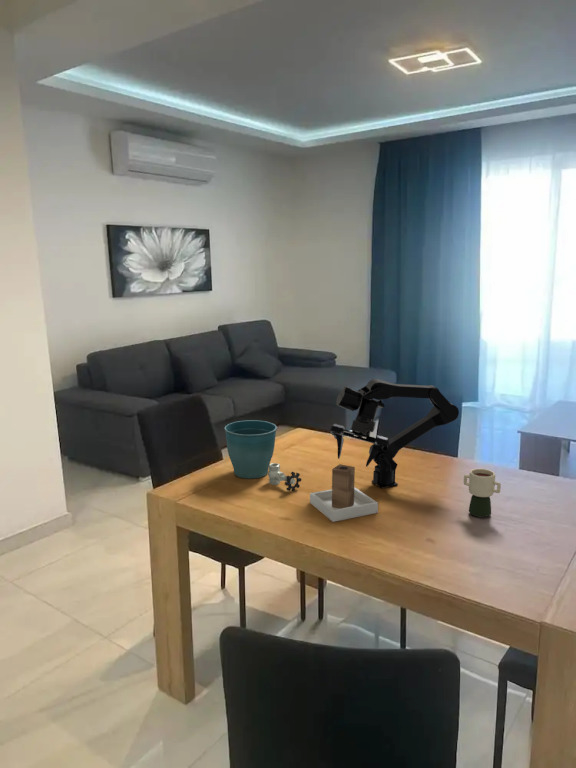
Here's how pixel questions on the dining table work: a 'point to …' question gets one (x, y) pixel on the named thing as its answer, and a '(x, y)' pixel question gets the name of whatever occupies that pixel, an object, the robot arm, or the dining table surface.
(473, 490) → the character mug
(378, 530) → the dining table surface
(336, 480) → the walnut block
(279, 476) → the valve
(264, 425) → the flower pot
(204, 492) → the dining table surface
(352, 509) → the tray
